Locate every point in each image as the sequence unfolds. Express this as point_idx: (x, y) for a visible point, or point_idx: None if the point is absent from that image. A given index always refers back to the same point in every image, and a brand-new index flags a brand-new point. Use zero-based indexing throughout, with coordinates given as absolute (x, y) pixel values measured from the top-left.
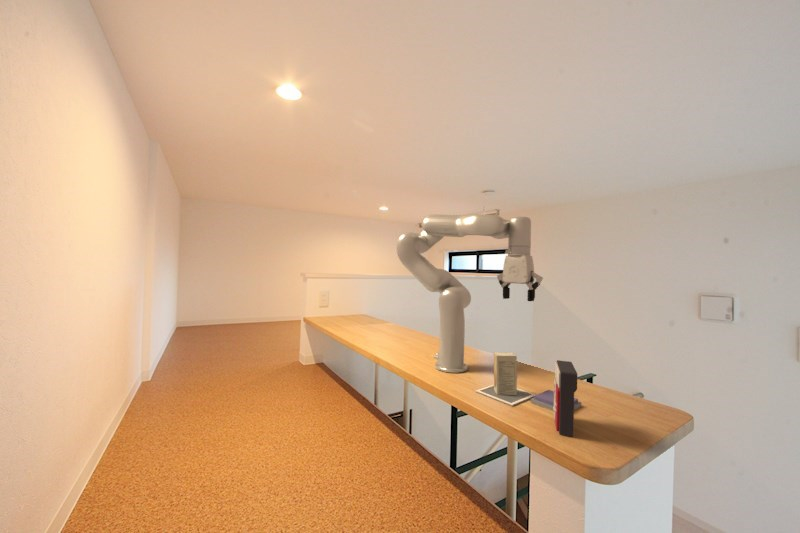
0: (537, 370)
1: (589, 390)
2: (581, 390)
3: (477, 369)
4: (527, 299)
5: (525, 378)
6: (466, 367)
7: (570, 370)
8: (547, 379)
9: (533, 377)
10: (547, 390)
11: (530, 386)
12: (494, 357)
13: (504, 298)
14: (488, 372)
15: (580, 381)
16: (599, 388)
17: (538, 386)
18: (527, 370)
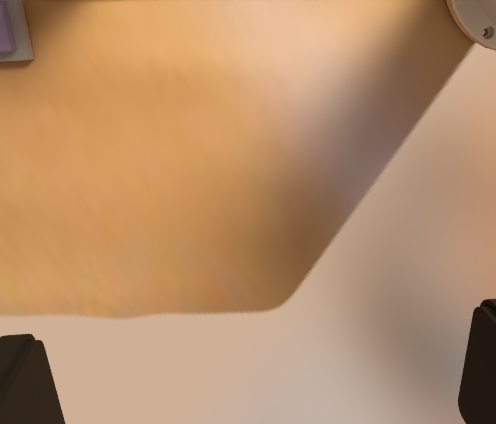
0: (253, 292)
1: (5, 252)
2: (17, 227)
3: (423, 72)
4: (32, 349)
5: (216, 161)
6: (457, 1)
7: None
8: (161, 229)
9: (206, 202)
10: (6, 35)
11: (139, 89)
12: None
13: (484, 303)
14: (363, 82)
15: (86, 313)
16: (5, 301)
17: (123, 120)
18: (276, 258)
